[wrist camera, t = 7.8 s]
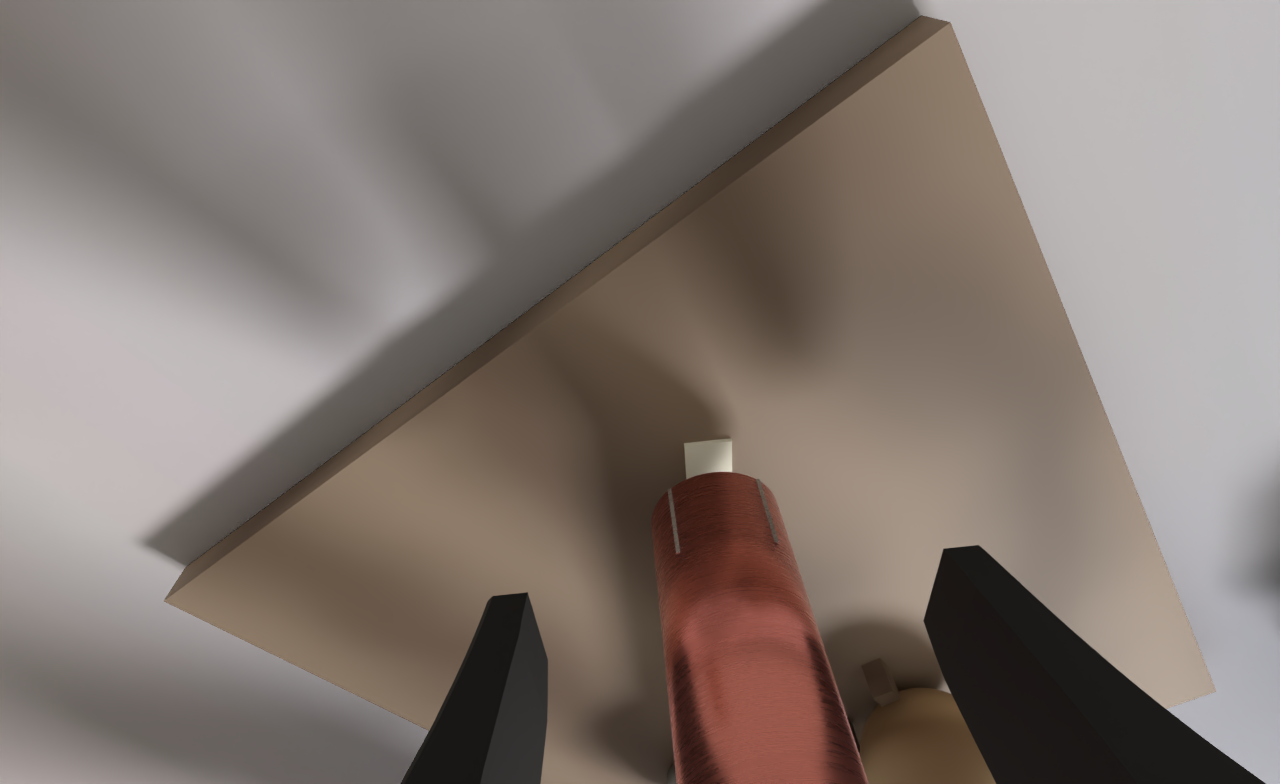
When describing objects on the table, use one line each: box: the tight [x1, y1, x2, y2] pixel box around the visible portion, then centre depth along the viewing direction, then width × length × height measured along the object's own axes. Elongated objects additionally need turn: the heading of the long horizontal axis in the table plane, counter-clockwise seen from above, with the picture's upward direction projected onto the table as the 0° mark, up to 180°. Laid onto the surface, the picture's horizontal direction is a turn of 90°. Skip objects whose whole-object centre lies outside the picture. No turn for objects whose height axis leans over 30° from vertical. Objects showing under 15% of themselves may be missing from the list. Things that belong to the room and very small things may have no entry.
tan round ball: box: [860, 688, 996, 784], centre depth 18 cm, size 4×4×4 cm
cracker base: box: [164, 16, 1216, 784], centre depth 17 cm, size 20×24×4 cm
